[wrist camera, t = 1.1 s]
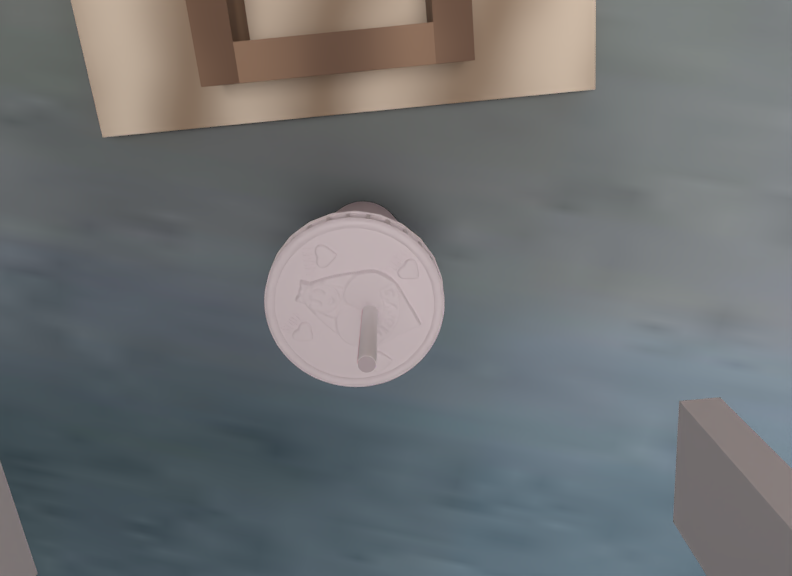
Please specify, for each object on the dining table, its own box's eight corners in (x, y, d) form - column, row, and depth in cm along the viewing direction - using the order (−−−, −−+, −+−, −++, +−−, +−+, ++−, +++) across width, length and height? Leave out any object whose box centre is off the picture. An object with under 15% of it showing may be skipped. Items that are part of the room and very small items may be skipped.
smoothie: (407, 314, 33) (422, 478, 20) (283, 281, 32) (213, 427, 19) (445, 194, 31) (491, 286, 18) (315, 156, 30) (261, 221, 17)
